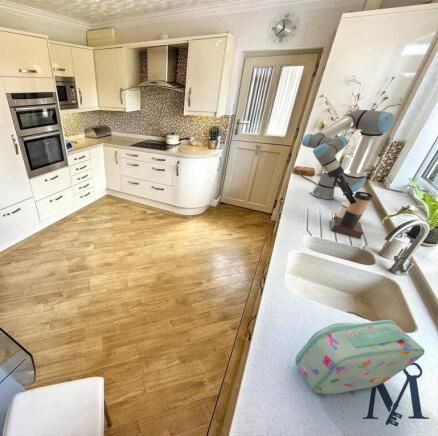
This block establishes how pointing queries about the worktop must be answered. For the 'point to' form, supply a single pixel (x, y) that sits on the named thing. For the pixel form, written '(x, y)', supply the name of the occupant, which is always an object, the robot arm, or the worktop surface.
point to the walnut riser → (346, 228)
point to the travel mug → (356, 209)
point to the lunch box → (356, 356)
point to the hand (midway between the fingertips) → (352, 199)
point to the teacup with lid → (342, 209)
